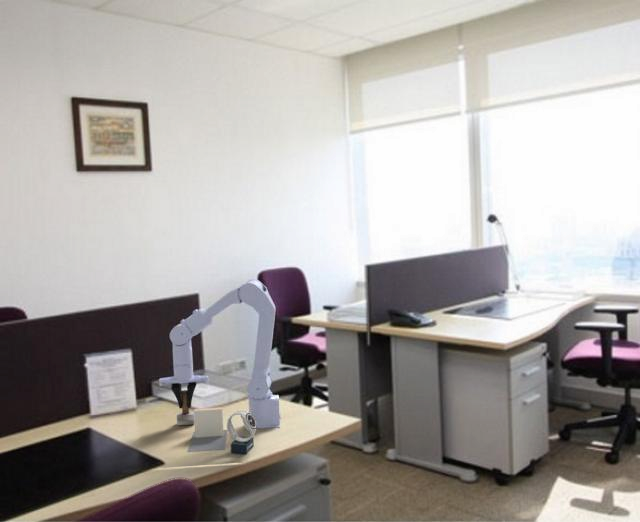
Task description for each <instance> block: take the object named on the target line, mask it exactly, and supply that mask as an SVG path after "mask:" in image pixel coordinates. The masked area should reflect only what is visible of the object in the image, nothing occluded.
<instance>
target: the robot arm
mask: <svg viewBox="0 0 640 522" xmlns="http://www.w3.org/2000/svg"><path fill="white" fill-rule="evenodd" d="M242 303H244V304H246V305H248V306H250V307H251V308H253V309H254V310H255V311H256V312H257V314H258V324H257V333H256V334H257V335H256V344H255V351H254V352H255V353H254V362H253V363H254V364H253V369H252V374H251V380H250V381H249V382H248V384H247V387H246V389H247V392H248V413H251V414H252V415H253V416H254V418H255V420H256V422H257V428H256V429H263V428H265V429H266V428H278V429H279V428H280V427H281V423H280V422H281V421H280V420H281V412H280V400H279V399H280V398H279V397H280V396H279V394H273V392H272V391H271V389H270V387H271V385H272V383H273V379H272V375H271V364H270V363H271V354H272V347H273V338H274V328H275V317H276V310H277V309H276V305H275V303H274V301H273V299H272V297H271V295H270V292H269V290H268V288H267V286H266V285H265V284H263V283H262V282H261V281H260V280H259V279H248V281H246V283H243V284H241V285H239V286H237V287H235V288H233V289H232V290H230V291H229V292H227V293H226V294H224V295H223V296H222V297H221V298H219V299H218V300H217V301H216V302H214V303H213V304H211V306H209V307H208V308H199V309H194V310H193V311H192V314H191V315H190V316H188V317H187V318H185V319H183V318H182V320H180V323H179V324H177V325H175V326H174V327H173V328H172V329H171V331H170V332H169V340H170V341H171V343H172V361H173V362H172V363H173V376H169V377H168V376H167V377H161V378H159V379H158V381H159V382H158V383H159V385H158V386H159V387H162V386H163V387H164V386H171V391H172V393H173V394H174V396H175V398H176V400H177V403H178V408H179V409H182V397H181V391H183V389H182V385H187V386H186V390H187V391H188V408H189V409H190V408H192V401H193V397H194V394H195V393H194V392H195V390H196V388H197V384H209V382H210V381H209V375H195V374H194V362H193V348H192V347H193V346H192V339H193V337H195V336H197V335H199V334H200V333H201V332H202V331H204V330H205V329H206V328H208V327H209V326H211V325H212V324H213V318H214V317H215V316H217V315H218V314H220V313H222V312H223V311H224V310H226V309H227V308H229V307H230V306H232V305H238V304H242Z"/></svg>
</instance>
